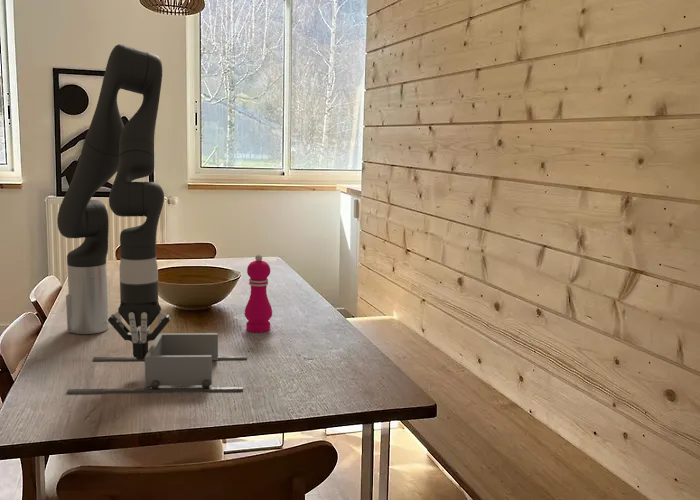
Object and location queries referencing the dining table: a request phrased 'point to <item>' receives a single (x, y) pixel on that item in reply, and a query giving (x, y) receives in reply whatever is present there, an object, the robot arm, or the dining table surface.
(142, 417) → the dining table surface
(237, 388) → the track
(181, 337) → the frame
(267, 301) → the pepper mill
